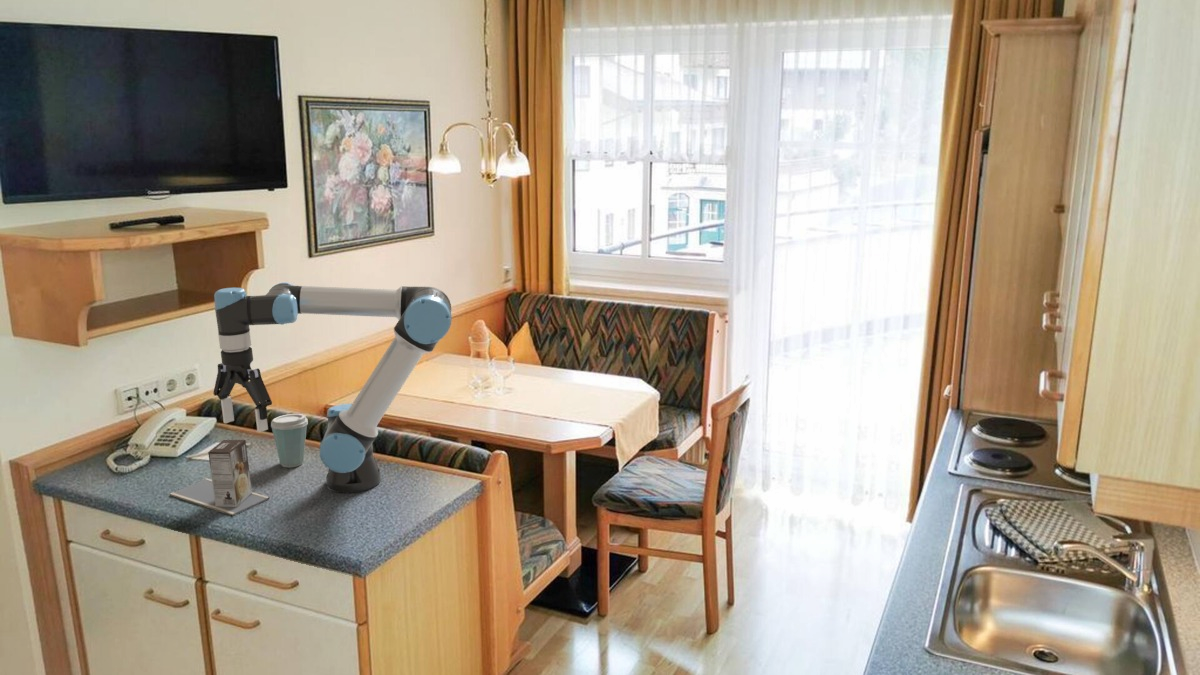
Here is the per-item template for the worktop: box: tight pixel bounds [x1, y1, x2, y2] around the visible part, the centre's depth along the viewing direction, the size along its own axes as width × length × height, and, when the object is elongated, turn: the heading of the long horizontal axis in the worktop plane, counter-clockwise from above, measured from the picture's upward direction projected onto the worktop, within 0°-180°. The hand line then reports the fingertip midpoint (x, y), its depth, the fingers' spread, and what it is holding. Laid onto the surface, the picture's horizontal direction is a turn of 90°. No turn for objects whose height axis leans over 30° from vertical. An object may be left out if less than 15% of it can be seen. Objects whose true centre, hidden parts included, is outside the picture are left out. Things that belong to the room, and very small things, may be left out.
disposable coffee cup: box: [270, 413, 309, 468], centre depth 271 cm, size 11×11×15 cm
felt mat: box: [169, 477, 270, 517], centre depth 250 cm, size 26×12×1 cm, turn 60°
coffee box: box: [207, 439, 253, 507], centre depth 245 cm, size 9×6×16 cm
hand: (245, 426), depth 238 cm, fingers open, 13 cm apart
